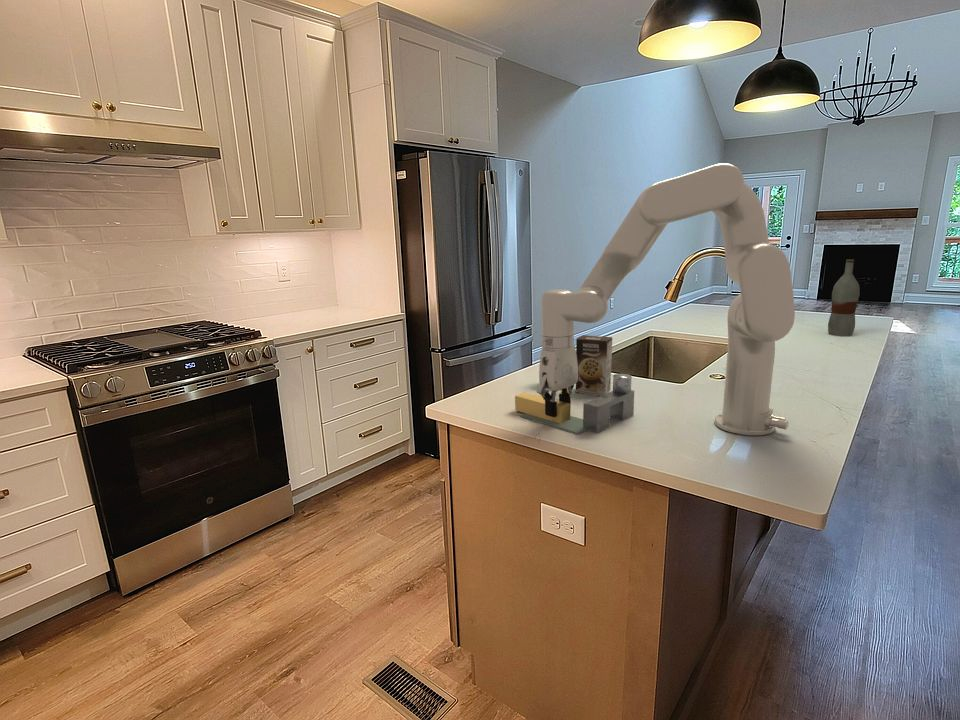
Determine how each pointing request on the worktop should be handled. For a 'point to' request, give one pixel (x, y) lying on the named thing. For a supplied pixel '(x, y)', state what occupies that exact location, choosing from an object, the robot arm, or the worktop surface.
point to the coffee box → (594, 364)
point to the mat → (570, 425)
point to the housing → (610, 405)
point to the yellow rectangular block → (541, 407)
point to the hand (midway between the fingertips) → (557, 412)
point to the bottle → (844, 303)
